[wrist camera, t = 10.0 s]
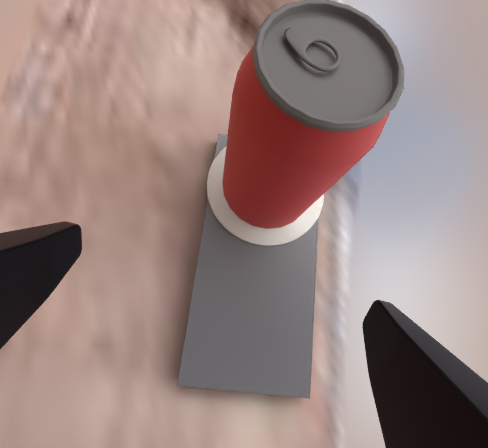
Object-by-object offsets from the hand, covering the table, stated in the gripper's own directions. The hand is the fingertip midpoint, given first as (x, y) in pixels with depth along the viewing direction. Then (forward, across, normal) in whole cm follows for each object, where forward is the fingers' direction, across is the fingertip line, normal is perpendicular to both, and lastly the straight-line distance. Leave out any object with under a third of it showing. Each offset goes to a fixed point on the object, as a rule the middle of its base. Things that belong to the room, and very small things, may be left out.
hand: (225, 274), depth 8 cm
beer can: (+14, -1, +2) cm, 14 cm away
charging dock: (+12, -2, +6) cm, 13 cm away
